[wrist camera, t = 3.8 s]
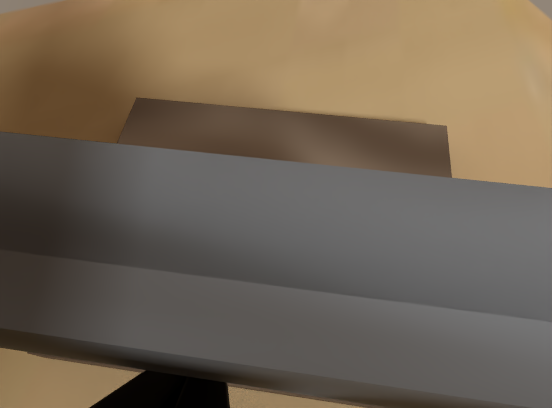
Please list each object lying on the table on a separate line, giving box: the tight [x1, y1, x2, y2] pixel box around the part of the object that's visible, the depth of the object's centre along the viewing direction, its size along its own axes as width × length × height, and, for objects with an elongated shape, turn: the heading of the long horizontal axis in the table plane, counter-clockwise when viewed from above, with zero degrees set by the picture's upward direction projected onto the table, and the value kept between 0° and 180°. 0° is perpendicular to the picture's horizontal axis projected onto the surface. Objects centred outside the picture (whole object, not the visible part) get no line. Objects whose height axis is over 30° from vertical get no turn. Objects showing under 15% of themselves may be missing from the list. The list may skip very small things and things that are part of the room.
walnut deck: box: [27, 98, 452, 408], centre depth 19 cm, size 14×18×2 cm
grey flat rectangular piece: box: [0, 132, 552, 408], centre depth 9 cm, size 12×14×2 cm
